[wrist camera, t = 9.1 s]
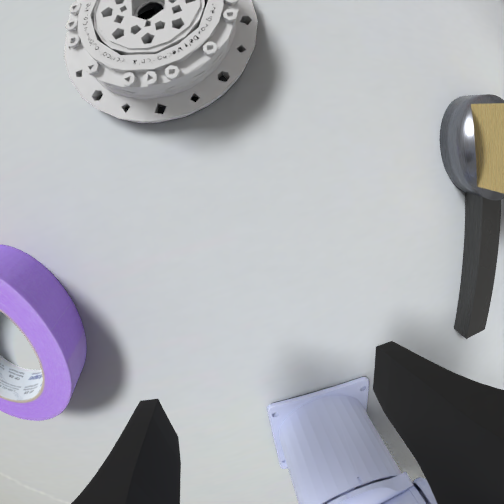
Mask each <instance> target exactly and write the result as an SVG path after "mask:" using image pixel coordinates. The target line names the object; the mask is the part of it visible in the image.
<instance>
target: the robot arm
mask: <svg viewBox="0 0 504 504" xmlns="http://www.w3.org/2000/svg"><path fill="white" fill-rule="evenodd" d="M368 390H369V380H368V378H367V377H361V378H358V379H355V380H352V381H349V382H346V383H343V384H340V385H337V386H333V387H330V388H327V389H324V390H320V391H317V392H314V393H310V394H307V395H303V396H299V397H296V398H292V399H288V400H284V401H280V402H276V403H272V404H270V405H269V406H268V407H267V411H268V415H269V420H270V424H271V428H272V433H273V437H274V441H275V446H276V450H277V454H278V459H279V463H280V467H281V468H282V469H287V468H288V470H289V473H290V476H291V480H292V483H293V486H294V489H295V493H296V496H297V499H298V502H299V504H504V390H501V389H497V388H494V387H491V386H487V385H484V384H481V383H478V382H475V381H473V380H470V379H468V378H465V377H463V376H460V375H458V374H456V373H453V372H451V371H449V370H447V369H445V368H443V367H441V366H439V365H437V364H435V363H433V362H431V361H429V360H427V359H425V358H423V357H421V356H419V355H417V354H415V353H414V352H412V351H410V350H408V349H406V348H404V347H402V346H400V345H398V344H397V343H395V342H392V341H391V342H388V343H385V344H382V345H380V346H377V347H376V357H375V371H374V384H373V390H374V392H375V395H376V397H377V399H378V401H379V403H380V405H381V407H382V409H383V411H384V413H385V414H386V416H387V417H388V419H389V420H390V422H391V423H392V425H393V426H394V427H395V429H396V430H397V432H398V433H399V435H400V436H401V438H402V439H403V441H404V442H405V444H406V445H407V447H408V448H409V449H410V451H411V452H412V454H413V455H414V457H415V459H416V460H417V462H418V464H419V465H420V467H421V469H422V471H423V473H424V475H425V477H426V479H424V478H422V477H419V478H417V479H415V480H414V481H413V483H412V481H411V479H410V478H409V476H408V474H407V473H406V472H404V473H402V472H401V471H400V469H399V467H398V466H397V464H396V462H395V460H394V459H393V457H392V455H391V454H390V452H389V450H388V449H387V447H386V445H385V443H384V442H383V440H382V438H381V437H380V435H379V433H378V432H377V430H376V428H375V427H374V425H373V423H372V422H371V420H370V418H369V416H368V415H367V413H366V412H367V401H368ZM273 413H275V414H273ZM180 469H181V462H180V451H179V441H178V436H177V434H176V432H175V430H174V429H173V427H172V425H171V423H170V421H169V419H168V417H167V415H166V414H165V412H164V410H163V408H162V406H161V404H160V402H159V400H158V399H153V400H145V401H140V403H139V404H138V406H137V408H136V409H135V411H134V413H133V415H132V416H131V418H130V420H129V422H128V424H127V425H126V427H125V429H124V431H123V432H122V434H121V436H120V437H119V439H118V441H117V442H116V444H115V446H114V447H113V449H112V451H111V452H110V454H109V456H108V457H107V459H106V460H105V461H104V463H103V464H102V466H101V467H100V469H99V470H98V472H97V473H96V475H95V476H94V477H93V479H92V480H91V481H90V483H89V484H88V485H87V486H86V488H85V489H84V490H83V491H82V493H81V494H80V495H79V496H78V497H77V498H76V499H75V500H74V501H73V502H72V503H71V504H180Z"/></svg>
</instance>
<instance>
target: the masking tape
mask: <svg viewBox="0 0 504 504" xmlns="http://www.w3.org/2000/svg"><path fill="white" fill-rule="evenodd" d="M0 311H1V312H2V313H4V314H5V315H6V316H7V317H8V318H9V319H10V320H11V321H12V322H13V323H14V324H15V325H16V326H17V327H18V329H19V330H20V331H21V332H22V333H23V334H24V336H25V337H26V339H27V340H28V341H29V343H30V345H31V346H32V348H33V350H34V352H35V354H36V356H37V358H38V360H39V363H40V367H41V369H37V370H31V369H25V368H21V367H19V366H16V365H14V364H12V363H11V362H9V361H7V360H6V359H5V358H3V357H2V356H1V355H0V410H1V411H2V412H5V413H7V414H9V415H11V416H15V417H18V418H21V419H26V420H36V421H37V420H47V419H50V418H53V417H55V416H57V415H59V414H60V413H62V412H63V411H64V409H65V408H66V407H67V405H68V403H69V401H70V399H71V396H72V394H73V391H74V389H75V386H76V384H77V381H78V379H79V376H80V374H81V371H82V369H83V366H84V364H85V360H86V352H87V344H86V336H85V331H84V328H83V324H82V321H81V318H80V316H79V313H78V311H77V309H76V307H75V305H74V303H73V301H72V299H71V298H70V296H69V295H68V293H67V291H66V290H65V289H64V287H63V286H62V285H61V283H60V282H59V281H58V280H57V279H56V277H55V276H54V275H53V274H52V273H51V272H50V271H49V270H48V269H47V268H46V267H45V266H43V265H42V264H41V263H40V262H39V261H37V260H36V259H34V258H33V257H31V256H30V255H28V254H27V253H25V252H23V251H21V250H19V249H16V248H13V247H10V246H6V245H0Z"/></svg>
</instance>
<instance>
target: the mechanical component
mask: <svg viewBox="0 0 504 504" xmlns="http://www.w3.org/2000/svg"><path fill="white" fill-rule="evenodd" d="M161 7H164V9H163V10H161ZM151 9H154V11H155V14H156V15H154V14H153V15H152V16H151V17H150V18H148V19H147V20H144V19H141V18H138V15H140V14H142V13H143V12H145V11H148V10H151ZM69 11H70V12H71V13H70V17H69V20H68V21H67V24H66V27H65V28H66V29H67V33H66V39H65V50H64V59H65V63H66V67H67V71H68V75H69V79H70V80H71V82H72V83H73V85H74V86H75V88H76V89H77V91H78V93H79V94H80V96H81V97H82V99H84V100H85V101H87V102H88V103H89V104H91V105H92V106H94V107H95V108H96V109H98V110H100V111H103V112H105V113H107V114H110V115H112V116H114V117H116V118H119V119H122V120H127V121H132V122H137V123H159V122H163V121H168V120H173V119H178V118H183V117H186V116H188V115H190V114H192V113H194V112H196V111H198V110H200V109H202V108H204V107H207V106H209V105H210V104H211V103H213V102H214V101H215V100H217V99H218V98H219V97H221V96H222V95H223V94H225V93H226V91H227V90H228V89H229V88H230V87H231V86H232V85H233V84H234V83H235V82H236V81H237V80H238V78H239V77H240V75H241V74H242V72H243V71H244V69H245V67H246V65H247V63H248V61H249V59H250V56H251V54H252V52H253V50H254V48H255V42H256V32H257V23H258V20H257V17H256V13H255V10H254V6H253V3H252V0H76V2H75V3H73V4H72V5H71V6H70V8H69ZM244 23H245V24H244ZM240 52H242V53H240ZM222 75H223V76H224V77H225V78H226V79H227V81H226V82H224V81H220V80H218V78H220V77H221V76H222ZM102 94H103V96H102V97H101V99H100V100H99V99H98V98H99V97H100V96H101V95H102ZM193 97H198V98H199V99H198V100H197V101H196V102H194V101H192V98H193ZM160 106H166V109H165V111H164V113H163V114H159V113H158V111H159V107H160ZM128 107H130V108H129V109H128V111H127V110H126V109H127V108H128Z"/></svg>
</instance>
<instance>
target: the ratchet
mask: <svg viewBox="0 0 504 504" xmlns="http://www.w3.org/2000/svg"><path fill="white" fill-rule="evenodd" d="M492 103H504V100H503V99H501V98H500V97H498V96H495V95H472V96H462V97H459V98H457V99H455V100H454V101H453V102H452V103H451V104H450V105H449V106H448V108H447V109H446V111H445V114H444V116H443V119H442V123H441V130H440V149H441V155H442V160H443V163H444V167H445V169H446V172H447V174H448V176H449V177H450V179H451V181H452V182H453V183H454V184H455V185H456V187H458V188H459V189H460V190H462V191H463V192H465V239H464V254H463V266H462V276H461V285H460V293H459V301H458V308H457V314H456V320H455V326H454V329H455V330H456V331H458V332H459V333H460V334H461V335H462V336H464V337H465V338H466V339H467V338H469V337H471V336H473V335H475V334H477V333H479V332H480V331H482V330H484V329H485V326H486V321H487V317H488V312H489V307H490V302H491V296H492V290H493V284H494V278H495V271H496V263H497V255H498V245H499V233H500V218H501V199H503V198H504V194H503V193H500V192H496V191H492V190H489V189H485V188H481V187H477V167H476V149H475V137H474V126H473V117H472V109H471V104H492Z"/></svg>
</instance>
